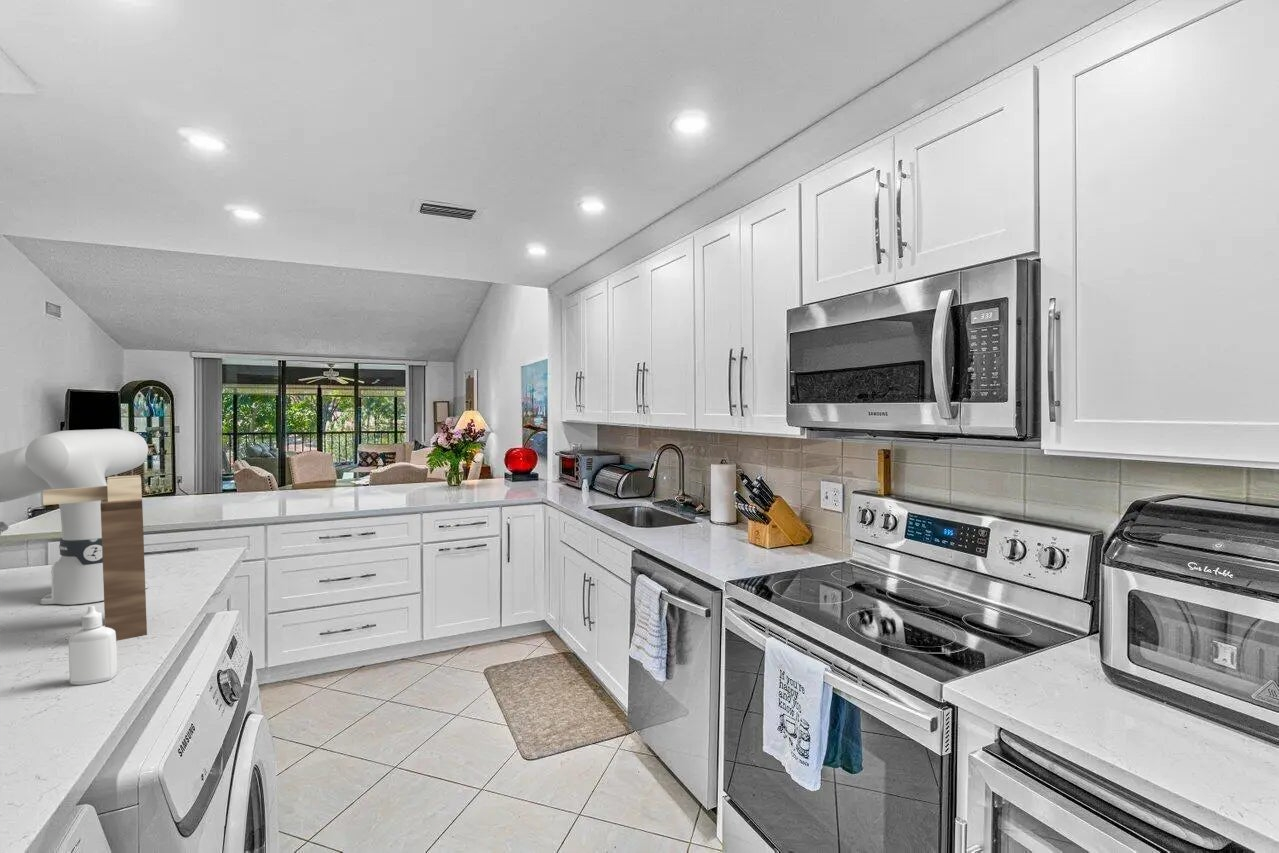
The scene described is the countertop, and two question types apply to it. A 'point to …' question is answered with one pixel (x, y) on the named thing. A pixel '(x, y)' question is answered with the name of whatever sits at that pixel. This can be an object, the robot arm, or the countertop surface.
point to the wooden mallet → (97, 492)
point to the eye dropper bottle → (92, 651)
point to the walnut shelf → (124, 567)
